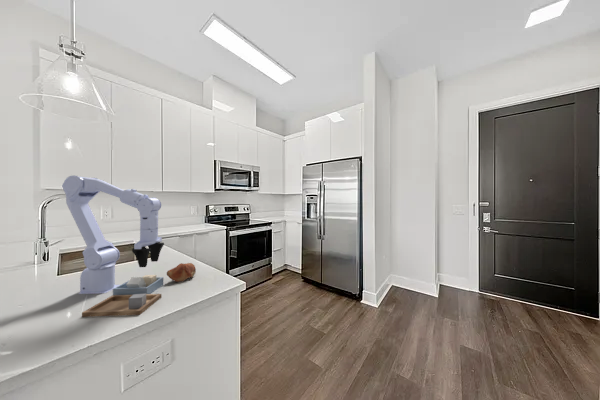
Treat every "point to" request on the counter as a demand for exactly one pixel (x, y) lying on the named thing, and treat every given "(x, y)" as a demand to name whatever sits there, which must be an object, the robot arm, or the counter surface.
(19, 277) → the counter surface
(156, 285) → the dish
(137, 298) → the matte stone cube
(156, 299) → the tray
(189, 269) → the bread loaf
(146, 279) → the cream cube
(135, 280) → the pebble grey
